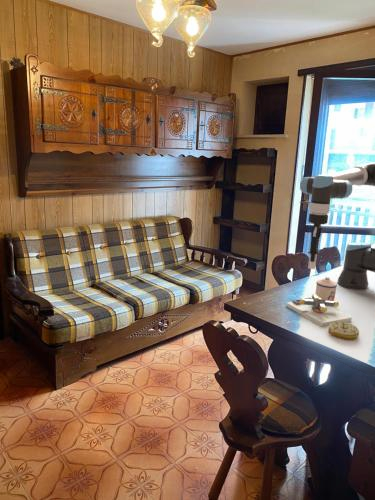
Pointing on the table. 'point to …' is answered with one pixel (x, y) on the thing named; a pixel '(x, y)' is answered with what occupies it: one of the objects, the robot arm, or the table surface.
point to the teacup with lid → (326, 289)
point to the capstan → (318, 303)
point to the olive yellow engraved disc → (344, 330)
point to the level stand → (319, 318)
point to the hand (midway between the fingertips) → (311, 268)
